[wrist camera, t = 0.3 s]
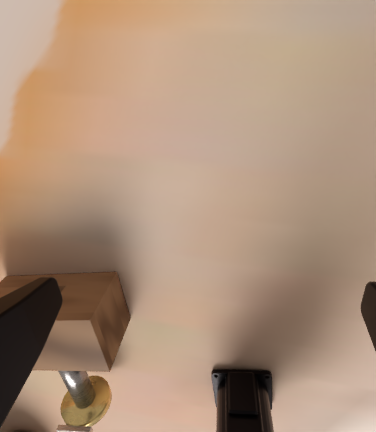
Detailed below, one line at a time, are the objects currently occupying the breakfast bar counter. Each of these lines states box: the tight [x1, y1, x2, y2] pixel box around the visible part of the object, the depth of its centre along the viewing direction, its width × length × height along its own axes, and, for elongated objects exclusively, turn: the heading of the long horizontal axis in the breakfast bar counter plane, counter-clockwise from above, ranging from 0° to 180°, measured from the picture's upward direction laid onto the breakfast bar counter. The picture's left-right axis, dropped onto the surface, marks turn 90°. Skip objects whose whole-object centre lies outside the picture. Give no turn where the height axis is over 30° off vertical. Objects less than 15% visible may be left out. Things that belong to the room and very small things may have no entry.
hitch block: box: [0, 272, 130, 372], centre depth 26 cm, size 6×12×6 cm, turn 98°
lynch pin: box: [56, 371, 112, 432], centre depth 28 cm, size 10×5×6 cm, turn 8°
